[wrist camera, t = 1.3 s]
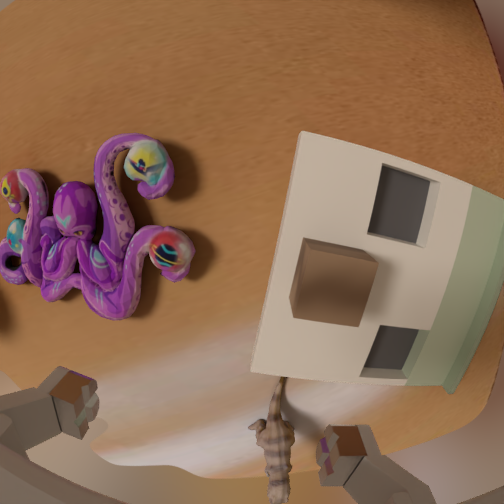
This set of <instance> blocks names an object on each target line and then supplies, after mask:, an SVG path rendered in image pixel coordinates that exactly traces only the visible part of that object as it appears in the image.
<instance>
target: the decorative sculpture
mask: <svg viewBox="0 0 504 504" xmlns="http://www.w3.org/2000/svg"><path fill="white" fill-rule="evenodd" d="M126 149H130V151H129V153H128V155H127V157H126V159H125V164H124V169H125V172H126V174H127V176H128V177H129V178H131V179H132V180H142V181H145V182H141V183H140V184H138V191H139V193H140V194H141V196H143V197H145V198H147V199H149V200H150V199H156V198H159V197H162V196H164V195H165V194H166V193H167V192H168V191H169V190H170V188H171V187H172V185H173V182H174V178H175V175H174V167H173V163H172V160H171V159H170V157H169V155H168V153H167V151H166V149H165V148H164V146H163V145H162V144H161V142H160V141H159V140H155V139H153V138H151V137H149V136H147V135H143V134H139V133H127V134H119V135H115V136H113V137H112V138H110V139H108V140H107V141H105V142H104V143H103V145H102V146H101V147H100V148H99V150H98V152H97V155H96V157H95V163H94V181H95V188H96V192H97V195H98V199H99V202H100V205H101V208H102V212H103V218H104V230H103V234H102V236H101V239H100V242H99V245H97V244H95V243H93V241H92V240H91V239H92V238H93V236H94V234H95V231H96V228H95V223H96V215H97V209H98V204H97V200H96V197H95V193H94V192H93V191H92V189H91V188H90V187H89V186H88V185H86V184H84V183H82V182H78V181H73V182H66V183H64V184H63V185H62V186H61V187H60V188H59V189H58V190H57V192H56V194H55V198H54V203H53V214H54V216H47V211H48V207H49V196H48V189H47V186H46V183H45V181H44V179H43V178H42V177H41V175H40V174H39V173H38V172H36V171H35V170H33V169H28V168H26V169H14V170H12V171H10V172H8V173H7V174H6V175H5V176H4V177H3V178H2V181H1V184H0V192H1V195H2V196H3V198H4V199H5V200H6V201H8V203H9V206H10V208H11V210H12V211H13V212H14V213H16V214H17V213H18V212H19V211H20V209H21V206H20V204H19V202H24V201H25V199H26V197H27V195H28V194H29V198H30V200H29V211H28V215H27V219H26V220H22V219H20V218H16V219H15V220H14V221H12V222H11V224H10V226H9V227H8V231H7V237H5V238H4V239H3V240H2V241H1V243H0V272H1V274H2V276H3V278H4V279H5V280H6V281H7V282H8V283H13V284H17V285H20V284H23V283H25V282H26V281H27V280H28V279H29V281H30V282H31V283H33V284H34V285H36V286H38V287H40V288H41V295H42V297H43V298H44V300H46V301H47V302H55V301H57V300H60V299H62V298H63V297H64V296H65V295H66V294H67V293H68V292H69V291H70V290H71V289H72V288H77V289H82V294H83V296H84V299H85V301H86V303H87V304H88V306H89V308H90V309H91V310H92V311H94V312H95V313H96V314H98V315H99V316H101V317H103V318H107V319H110V320H123V319H125V318H128V317H130V316H131V315H132V314H133V312H134V311H135V310H136V307H137V305H138V303H139V300H140V296H141V275H142V268H143V262H144V257H145V256H146V255H148V254H149V256H150V259H151V261H152V262H153V264H154V265H155V266H156V267H157V268H159V269H161V270H162V272H161V273H160V274H161V275H162V276H164V277H165V278H167V279H168V280H170V281H172V282H177V281H181V280H182V279H183V278H184V277H185V276H186V275H187V274H188V273H189V269H190V261H191V260H192V258H193V256H194V254H195V248H194V245H193V242H192V241H191V240H190V238H189V237H188V236H187V235H186V234H185V233H183V232H182V231H181V230H179V229H176V228H174V227H172V226H166V227H162V226H156V225H147V226H144V227H142V228H141V229H140V230H138V231H137V232H136V233H135V234H134V231H135V223H134V219H133V217H132V214H131V212H130V209H129V206H128V204H127V202H126V200H125V198H124V196H123V194H122V193H121V191H120V190H119V188H118V186H117V183H116V180H115V177H114V161H115V159H116V157H117V155H118V154H119V152H121V151H124V150H126ZM46 216H47V217H46ZM62 234H63V235H64V237H63V238H61V237H62ZM133 234H134V235H133ZM65 236H70V237H68V238H67V237H65ZM74 236H75V237H74ZM132 236H133V237H132ZM77 237H78V238H77ZM60 238H61V239H60ZM79 238H81V239H79ZM131 238H132V239H131ZM59 239H60V240H59ZM130 240H131V241H130ZM55 242H56V243H55ZM129 242H130V243H129ZM52 244H53V246H52ZM51 246H52V248H51ZM50 248H51V249H50ZM49 250H50V251H49ZM126 250H127V251H126ZM125 254H126V255H125ZM11 256H17V257H20V256H21V264H20V266H18V267H14V266H13V265H12V263H11ZM77 257H78V261H79V263H80V266H79V269H80V273H81V274H80V273H73V271H74V269H75V265H76V261H77ZM124 257H125V260H124ZM123 261H124V264H123ZM121 277H122V279H121ZM120 279H121V281H120Z"/></svg>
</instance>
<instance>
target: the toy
mask: <svg viewBox="0 0 504 504" xmlns="http://www.w3.org/2000/svg"><path fill="white" fill-rule="evenodd" d="M284 378H285V377H283V376H281V379H280V381H279V383H278V385H277V387H276V389H275V392H274V395H273V397H272V400H271V403H270V407H269V413H268V418H267V424H265V422H264V420H262V419H260V420H258V421H257V422H255V423H254V424H252V425H251V426H249V427H248V429H250V430H256V438H257V443H256V444H257V445H258V446H260V447H262V448H263V449H264V455H265V459H266V462H267V466H266V468H265V473H266V475H267V477H269V473H270V478H269V484H268V494H267V496H268V497H269V501H270V503H271V504H281V503H285V502H286V503H287V502H288V497H289V494H290V484H289V482H290V481H289V475H288V472H290V471H291V469H292V465H291V464H290V455H291V450H290V447H291V446H292V445H293V444H294V442H295V437H294V428H293V427H292V426H291V425H290V424H289V423H288V422H287V421H283V420H282V417H281V412H280V401H281V391H282V387H283V383H284ZM268 472H269V473H268Z"/></svg>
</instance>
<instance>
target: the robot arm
mask: <svg viewBox="0 0 504 504" xmlns="http://www.w3.org/2000/svg"><path fill="white" fill-rule="evenodd" d="M97 388H98V387H97V381H96V380H94V379H92V378H90V377H87V376H84V375H82V374H79V373H77V372H74V371H72V370H69V369H67V368H64V367H62V366H59V367H57V368H56V369H55V370H54V371H53V372H52V373H51V374H50V375H49V376H48V377H47V378H46V379H45V380H44V381H43V382H42V383H41V384H40V386H39V387H38V388H37V389H36V388H34V387H33V388H29V389H25V390H22V391H18V392H14V393H10V394H6V395H2V396H0V504H129V503H126V502H123V501H120V500H117V499H114V498H111V497H108V496H105V495H103V494H100V493H98V492H95V491H92V490H90V489H87V488H85V487H83V486H81V485H78V484H76V483H74V482H71V481H69V480H67V479H65V478H63V477H61V476H58V475H57V474H55V473H52V472H50V471H49V470H47V469H45V468H43V467H41V466H39V465H37V464H35V463H34V462H32V461H30V460H29V458H28V455H27V454H26V452H25V451H26V450H28V449H30V448H32V447H34V446H36V445H38V444H40V443H42V442H44V441H46V440H48V439H50V438H52V437H54V436H56V435H58V434H60V433H61V432H63V433H66V434H68V435H71V436H73V437H76V438H78V439H81V440H82V439H83V437H84V435H85V434H86V432H87V430H88V429H89V426H88V422H91V421H93V420H94V419H95V417H96V416H97V413H98V409H99V397H98V396H97V394H96V393H95V391H96V390H97ZM324 433H325V437H324V438H322V439H321V440H320V441H319V443H318V446H317V450H316V461H317V464H318V465H319V466H320V467H321V469H320V471H319V478H320V484H321V486H343V488H344V489H345V490H346V491H347V492H348V493H349V494H350V495H351V496H352V498H353V499H354V500H355V501H356V502H357V503H358V504H436V502H435V499H434V497H433V495H432V492H431V490H430V488H429V486H428V485H426V484H425V483H423V482H422V481H420V480H418V479H417V478H416V477H414V476H413V475H412V474H410V473H409V472H408V471H406V470H405V469H403V468H402V467H401V466H399V465H398V464H396V463H395V462H394V461H392V460H391V459H390V458H388V457H387V456H386V455H381V453H380V450H379V448H378V445H377V443H376V440H375V438H374V435H373V433H372V430H371V428H370V426H369V425H332V424H329V425H328V426H327V427H326V429H325V431H324ZM458 504H504V486H502V487H499V488H497V489H495V490H492V491H490V492H487V493H485V494H482V495H480V496H477V497H475V498H472V499H469V500H467V501H464V502H461V503H458Z"/></svg>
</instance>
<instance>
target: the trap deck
mask: <svg viewBox="0 0 504 504" xmlns="http://www.w3.org/2000/svg"><path fill="white" fill-rule="evenodd" d="M303 237H304V238H309V239H314V240H319V241H324V242H329V243H334V244H339V245H343V246H348V247H353V248H358V249H363V250H364V251H365V252H366V253H368V254H369V255H370V256H371V257H373V258H374V259H375V260H376V261H377V262H379V265H378V269H377V272H376V275H375V279H374V282H373V285H372V288H371V292H370V295H369V298H368V301H367V304H366V307H365V310H364V313H363V316H362V319H361V322H360V325H359V327H352V326H345V325H337V324H330V323H323V322H317V321H310V320H304V319H297V318H293V314H292V310H291V305H290V300H289V294H290V290H291V286H292V282H293V278H294V274H295V270H296V265H297V261H298V257H299V253H300V248H301V244H302V239H303ZM503 282H504V199H502V198H500V197H497V196H495V195H493V194H491V193H489V192H487V191H484V190H482V189H480V188H478V187H475V186H473V185H471V184H468V183H466V182H464V181H461V180H459V179H456V178H454V177H451V176H449V175H446V174H444V173H441V172H439V171H436V170H433V169H431V168H428V167H425V166H422V165H420V164H417V163H414V162H411V161H408V160H405V159H402V158H399V157H396V156H393V155H390V154H387V153H384V152H381V151H377V150H374V149H371V148H367V147H364V146H360V145H357V144H353V143H350V142H346V141H342V140H338V139H335V138H331V137H327V136H323V135H319V134H314V133H310V132H306V131H301V132H300V133H299V136H298V141H297V146H296V152H295V157H294V162H293V167H292V172H291V177H290V182H289V187H288V192H287V197H286V202H285V207H284V211H283V216H282V221H281V226H280V231H279V236H278V240H277V245H276V250H275V254H274V259H273V264H272V268H271V273H270V278H269V282H268V287H267V291H266V296H265V300H264V305H263V309H262V314H261V318H260V323H259V327H258V331H257V336H256V340H255V344H254V349H253V353H252V357H251V370H250V372H256V373H262V374H269V375H276V376H283V377H291V378H299V379H308V380H318V381H328V382H340V383H354V384H371V385H399V386H440V385H442V386H443V388H444V389H445V390H446V392H447V393H448V394H453V393H454V392H455V390H456V388H457V386H458V384H459V383H460V381H461V379H462V377H463V375H464V373H465V372H466V370H467V368H468V366H469V364H470V362H471V360H472V358H473V356H474V354H475V352H476V349H477V347H478V345H479V343H480V341H481V339H482V336H483V334H484V332H485V329H486V327H487V325H488V322H489V320H490V317H491V315H492V312H493V310H494V307H495V305H496V302H497V299H498V296H499V294H500V291H501V288H502V285H503Z"/></svg>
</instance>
